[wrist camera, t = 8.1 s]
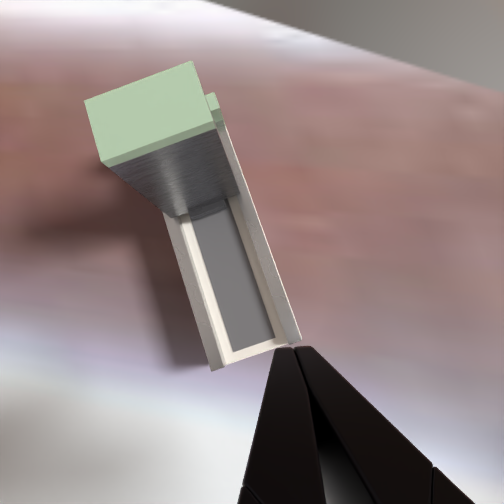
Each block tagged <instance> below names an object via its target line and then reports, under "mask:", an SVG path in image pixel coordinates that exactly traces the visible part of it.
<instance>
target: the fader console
mask: <svg viewBox="0 0 504 504" xmlns="http://www.w3.org/2000/svg"><path fill="white" fill-rule="evenodd" d="M205 97H206V100H207V102H208V105H209V108H210V111H211V113H212V116H213V119H214V121H215V124H216V127H217V130H218V132H219V135H220V138H221V140H222V143H223V146H224V149H225V151H226V154H227V157H228V160H229V162H230V165H231V168H232V171H233V174H234V177H235V179H236V182H237V185H238V188H239V191H240V194H238V195H235V196H232V197H229V198H226V199H224V201H225V204H226V207H227V209H225V210H223V211H220V212H217V213H214V214H212V215H209V216H206V217H203V218H200V219H198V220H195V221H193V220H192V219H191V218H190V215H189V212H188V213H185V214H182V215H179V216H177V217H174V218H170V217H169V216H168V215H166V214H165V213H164V212H163V211H162V212H163V216H164V219H165V222H166V225H167V229H168V232H169V235H170V238H171V242H172V245H173V248H174V252H175V255H176V258H177V261H178V265H179V268H180V271H181V274H182V278H183V281H184V284H185V287H186V291H187V294H188V297H189V300H190V304H191V307H192V310H193V314H194V317H195V320H196V323H197V327H198V330H199V333H200V336H201V340H202V343H203V346H204V349H205V353H206V356H207V359H208V362H209V366H210V369H211V372H212V371H215V370H218V369H220V368H223V367H225V366H226V365H228V364H230V363H233V362H236V361H239V360H242V359H245V358H248V357H251V356H254V355H256V354H259V353H262V352H265V351H268V350H271V349H274V348H277V347H280V346H282V345H285V344H289V345H290V344H293V343H296V342H299V341H302V337H301V334H300V332H299V329H298V326H297V323H296V321H295V318H294V315H293V312H292V309H291V307H290V304H289V301H288V298H287V295H286V293H285V290H284V287H283V284H282V282H281V279H280V276H279V273H278V270H277V268H276V265H275V262H274V259H273V257H272V254H271V251H270V248H269V245H268V243H267V240H266V237H265V234H264V231H263V229H262V226H261V223H260V220H259V218H258V215H257V212H256V209H255V206H254V204H253V201H252V198H251V195H250V192H249V190H248V187H247V184H246V181H245V179H244V176H243V173H242V170H241V167H240V165H239V162H238V159H237V156H236V154H235V151H234V148H233V145H232V142H231V140H230V137H229V134H228V131H227V128H226V126H225V122H224V119H223V116H222V113H221V110H220V107H219V104H218V101H217V98H216V96H215V93H214V92H213V93H210V94H207V95H205Z"/></svg>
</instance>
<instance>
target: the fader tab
mask: <svg viewBox="0 0 504 504" xmlns="http://www.w3.org/2000/svg"><path fill="white" fill-rule="evenodd" d="M84 102H85V106H86V109H87V113H88V117H89V120H90V124H91V127H92V131H93V134H94V138H95V142H96V145H97V149H98V152H99V156H100V159H101V162H102V163H103V164H105V165H106V166H107V167H108V168H109V169H111V170H112V171H113V172H114V173H116V174H117V175H118V176H119V177H121V178H122V179H123V180H124V181H126V182H127V183H128V184H129V185H131V186H132V187H133V188H134V189H135V190H137V191H138V192H139V193H140V194H142V195H143V196H144V197H145V198H147V199H148V200H149V201H150V202H152V203H153V204H154V205H155V206H157V207H158V208H159V209H160V210H161V211H163V212H164V213H165V214H166V215H168V216H169V217H170V218H174V217H177V216H179V215H182V214H185V213H188V212H189V215H190V218H191V219H192V220H193V221H195V220H198V219H200V218H203V217H206V216H209V215H212V214H214V213H217V212H220V211H223V210H225V209H227V207H226V204H225V201H224V199H226V198H229V197H232V196H235V195H238V194H240V191H239V188H238V185H237V182H236V179H235V177H234V174H233V171H232V168H231V165H230V162H229V160H228V157H227V154H226V151H225V149H224V146H223V143H222V140H221V138H220V135H219V132H218V130H217V127H216V124H215V121H214V119H213V116H212V113H211V111H210V108H209V105H208V102H207V100H206V97H205V94H204V92H203V89H202V86H201V84H200V81H199V78H198V75H197V73H196V70H195V67H194V65H193V62H192V61H189V62H186V63H184V64H181V65H178V66H176V67H173V68H170V69H168V70H165V71H162V72H160V73H157V74H154V75H152V76H149V77H146V78H144V79H141V80H138V81H136V82H133V83H130V84H128V85H125V86H122V87H120V88H117V89H114V90H112V91H109V92H106V93H104V94H101V95H98V96H96V97H93V98H90V99H88V100H85V101H84Z"/></svg>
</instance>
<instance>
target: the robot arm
mask: <svg viewBox="0 0 504 504" xmlns="http://www.w3.org/2000/svg"><path fill="white" fill-rule="evenodd" d="M242 485H243V487H242V488H241V490H240V494H239V498H238V503H237V504H475V503H474V502H473V501H472V500H471V499H470V498H469V497H467V496H466V495H465V494H464V493H463V492H462V491H461V490H460V489H459V488H458V487H457V486H456V485H455V484H453V483H452V482H451V481H450V480H449V479H448V478H447V477H446V476H445V475H444V474H443V473H442V472H441V471H440V470H439V469H438V468H437V467H433V464H432V462H431V461H430V460H428V459H427V458H426V457H425V456H424V455H423V454H422V453H421V452H420V451H419V450H418V449H417V448H416V447H415V446H414V445H413V444H412V443H411V442H410V441H409V440H408V439H407V438H406V437H405V436H404V435H403V434H402V433H401V432H400V431H399V430H398V429H396V428H395V427H394V426H393V425H392V424H391V423H390V422H389V421H388V420H387V419H386V418H385V417H384V416H383V415H382V414H381V413H380V412H379V411H378V410H377V409H376V408H375V407H374V406H373V405H372V404H371V403H370V402H369V401H368V400H367V399H366V398H365V397H363V396H362V395H361V394H360V393H359V392H358V391H357V390H356V389H355V388H354V387H353V386H352V385H351V384H350V383H349V382H348V381H347V380H346V379H345V378H344V377H343V376H342V375H341V374H340V373H339V372H338V371H337V370H336V369H335V368H334V367H333V366H331V365H330V364H329V363H328V362H327V361H326V360H325V359H324V358H323V357H322V356H321V355H320V354H319V353H318V352H317V351H316V350H315V349H314V348H313V347H311V346H299V347H295V348H294V349H293V348H291V347H285V348H276V349H275V351H274V355H273V359H272V363H271V367H270V372H269V376H268V380H267V384H266V388H265V392H264V396H263V400H262V405H261V409H260V413H259V417H258V421H257V425H256V429H255V433H254V438H253V442H252V446H251V450H250V454H249V458H248V462H247V467H246V471H245V475H244V479H243V483H242Z"/></svg>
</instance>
